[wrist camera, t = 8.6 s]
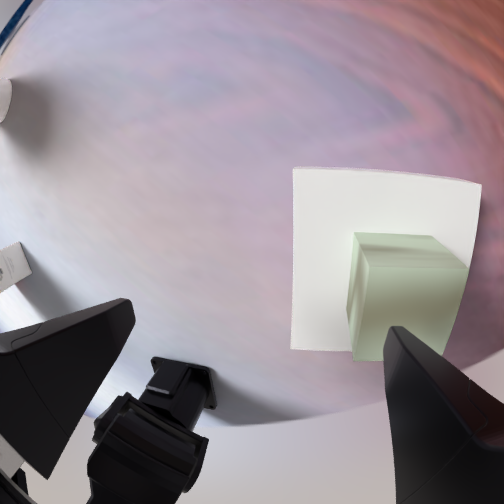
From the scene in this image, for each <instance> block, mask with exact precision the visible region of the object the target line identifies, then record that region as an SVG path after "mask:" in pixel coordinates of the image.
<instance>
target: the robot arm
mask: <svg viewBox="0 0 504 504" xmlns="http://www.w3.org/2000/svg"><path fill="white" fill-rule="evenodd" d="M135 321H136V319H135V314H134V310H133V306H132V302H131V301H130V300H129V299H124V298H119V299H116V300H112V301H109V302H106V303H103V304H100V305H96V306H93V307H90V308H87V309H84V310H80V311H77V312H74V313H71V314H68V315H64V316H61V317H58V318H55V319H51V320H48V321H45V322H41V323H38V324H35V325H32V326H28V327H25V328H21V329H17V330H13V331H9V332H5V333H0V504H37V503H36V502H35V501H33V500H32V499H31V498H30V497H29V496H28V490H27V483H26V476H25V472H24V471H23V470H22V469H21V468H20V466H21V465H22V464H23V463H24V461H25V462H26V463H27V464H29V465H30V466H31V467H32V468H33V469H34V470H36V471H37V472H38V473H39V474H40V475H42V476H43V477H44V478H45V479H47V480H48V478H49V477H50V475H51V473H52V471H53V469H54V467H55V465H56V464H57V462H58V460H59V458H60V456H61V454H62V452H63V450H64V448H65V446H66V445H67V443H68V441H69V438H70V437H71V435H72V433H73V431H74V430H75V428H76V426H77V424H78V422H79V421H80V419H81V417H82V416H83V414H84V412H85V410H86V409H87V407H88V405H89V404H90V402H91V400H92V399H93V397H94V395H95V394H96V392H97V390H98V389H99V387H100V385H101V384H102V382H103V380H104V379H105V377H106V375H107V374H108V372H109V371H110V369H111V367H112V366H113V364H114V363H115V361H116V359H117V358H118V356H119V354H120V353H121V351H122V349H123V347H124V345H125V343H126V341H127V339H128V337H129V335H130V333H131V331H132V329H133V327H134V325H135ZM383 360H384V376H385V392H386V399H387V406H388V413H389V420H390V427H391V435H392V445H393V455H394V467H395V484H396V504H504V404H503V403H502V402H500V401H499V400H497V399H496V398H494V397H493V396H491V395H490V394H489V393H487V392H486V391H485V390H483V389H482V388H481V387H480V386H478V385H477V384H476V383H475V382H473V381H472V380H471V379H470V380H469V378H468V377H467V376H466V375H465V374H464V373H462V372H461V371H460V370H458V369H457V368H456V367H455V366H453V365H452V364H451V363H450V362H448V361H447V360H446V359H445V358H443V357H442V356H441V355H439V354H438V353H437V352H436V351H434V350H433V349H432V348H430V347H429V346H428V345H427V344H425V343H424V342H423V341H421V340H420V339H419V338H417V337H416V336H415V335H413V334H412V333H411V332H409V331H408V330H407V329H406V328H404V327H403V326H391V327H390V328H389V330H388V333H387V337H386V340H385V343H384V347H383ZM151 364H152V367H153V370H154V373H155V374H154V375H153V377H152V378H151V380H150V381H149V383H148V384H147V385H146V389H145V391H144V392H143V394H142V395H141V396H140V398H139V399H138V400H137V399H136V398H134V397H133V396H132V395H131V394H130V393H128V392H126V393H125V394H124V396H117V398H116V399H115V400H114V402H113V403H112V404H111V405H110V407H109V408H108V409H106V410H105V411H104V412H103V413H102V414H101V415H100V416H99V417H97V418H96V420H95V421H94V426H95V431H94V436H93V439H92V441H93V442H95V443H96V444H97V446H96V447H95V449H94V451H93V452H92V454H91V455H90V457H89V459H88V464H87V475H88V477H89V480H90V488H91V497H90V498H89V500H88V502H87V503H86V504H175V503H176V501H177V499H178V498H179V496H180V495H181V493H182V492H183V493H187V492H188V491H189V490H190V489H191V487H192V486H193V485H194V483H195V482H196V480H197V478H198V476H199V474H200V471H201V468H202V465H203V461H204V457H205V453H206V449H207V445H208V442H209V439H208V438H205V437H202V436H200V435H198V434H196V433H194V432H193V429H194V427H195V425H196V423H197V421H198V419H199V416H200V414H201V412H202V410H203V408H207V409H213V410H214V409H216V407H217V403H216V399H215V394H214V389H213V384H212V379H211V374H210V370H209V369H208V368H207V367H204V366H198V365H193V364H187V363H182V362H177V361H172V360H167V359H163V358H158V357H153V358H152V359H151ZM204 371H205V372H204Z"/></svg>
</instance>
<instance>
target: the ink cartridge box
mask: <svg viewBox="0 0 504 504" xmlns="http://www.w3.org/2000/svg"><path fill="white" fill-rule="evenodd" d="M30 274H32V271H31V269H30V267H29V264H28V262H27V260H26V257H25V255H24V252H23V250H22V247H21V244H20V242H19V241H18V242H16V243H14V244H12V245H9V246H7V247H5V248H3V249H1V250H0V293H1V292H3V291H4V290H6V289H7V288H9V287H10V286H12V285H13V284H15V283H17V282H18V281H20V280H22V279H23V278H25V277H26V276H28V275H30Z"/></svg>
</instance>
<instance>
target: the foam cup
mask: <svg viewBox="0 0 504 504" xmlns="http://www.w3.org/2000/svg"><path fill="white" fill-rule="evenodd" d="M11 95H12V85H11V81H10V80H9V79H5V78H1V77H0V123H1V122H2V121H3V120H4V119H5V116H6V114H7V112H8V109H9V105H10V102H11Z"/></svg>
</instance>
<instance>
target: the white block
mask: <svg viewBox="0 0 504 504" xmlns="http://www.w3.org/2000/svg"><path fill="white" fill-rule="evenodd" d="M480 198H481V184H477V183H474V182H470V181H466V180H463V179H458V178H451V177H444V176H437V175H429V174H420V173H411V172H401V171H390V170H377V169H362V168H342V167H305V166H296V167H295V168H293V297H292V327H291V349H299V350H319V351H352V347H351V339H350V332H349V325H348V318H347V311H346V306H347V298H348V289H349V280H350V271H351V260H352V248H353V234H354V232H365V233H389V234H410V235H429V236H432V237H434V238H435V239H436V240H437V241H438V242H440V243H441V244H442V245H443V246H444V247H446V248H447V249H448V250H449V251H450V252H451V253H452V254H454V255H455V256H456V257H457V258H458V259H459V260H460V261H461V262H463V263H464V264H465V265H466V266H467V267H468V268H469V267H470V263H471V258H472V253H473V248H474V243H475V237H476V231H477V224H478V216H479V208H480Z"/></svg>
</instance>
